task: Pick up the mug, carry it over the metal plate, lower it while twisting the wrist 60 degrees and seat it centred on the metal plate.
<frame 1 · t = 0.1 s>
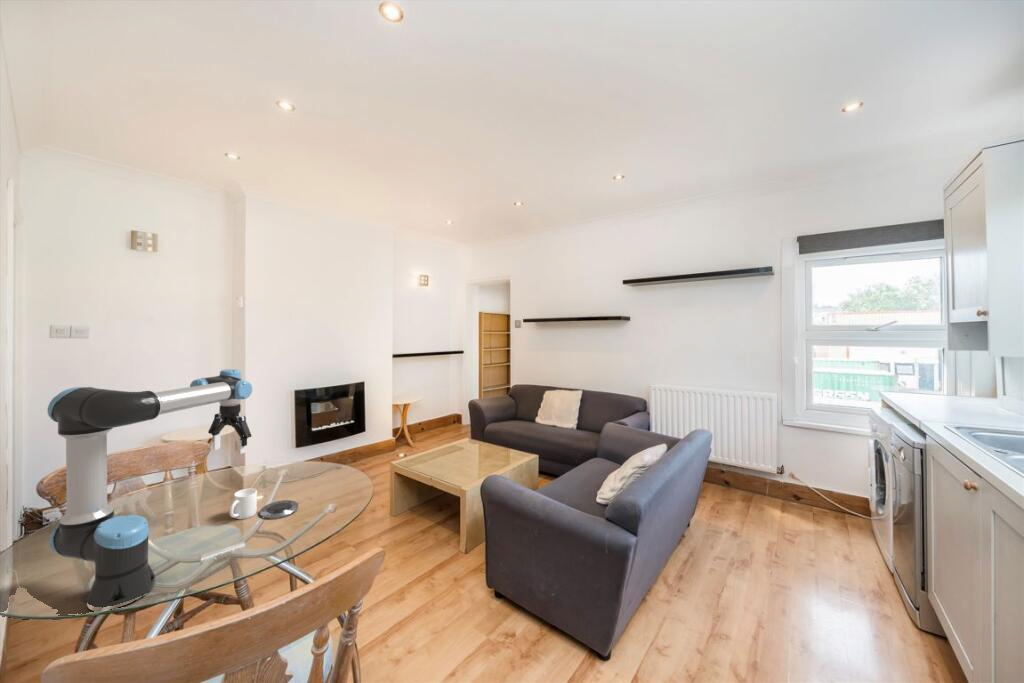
hand: (229, 451, 168), 28 cm above the table, fingers open, 13 cm apart
mug: (241, 517, 166), on the table
metal plate: (279, 510, 173), on the table
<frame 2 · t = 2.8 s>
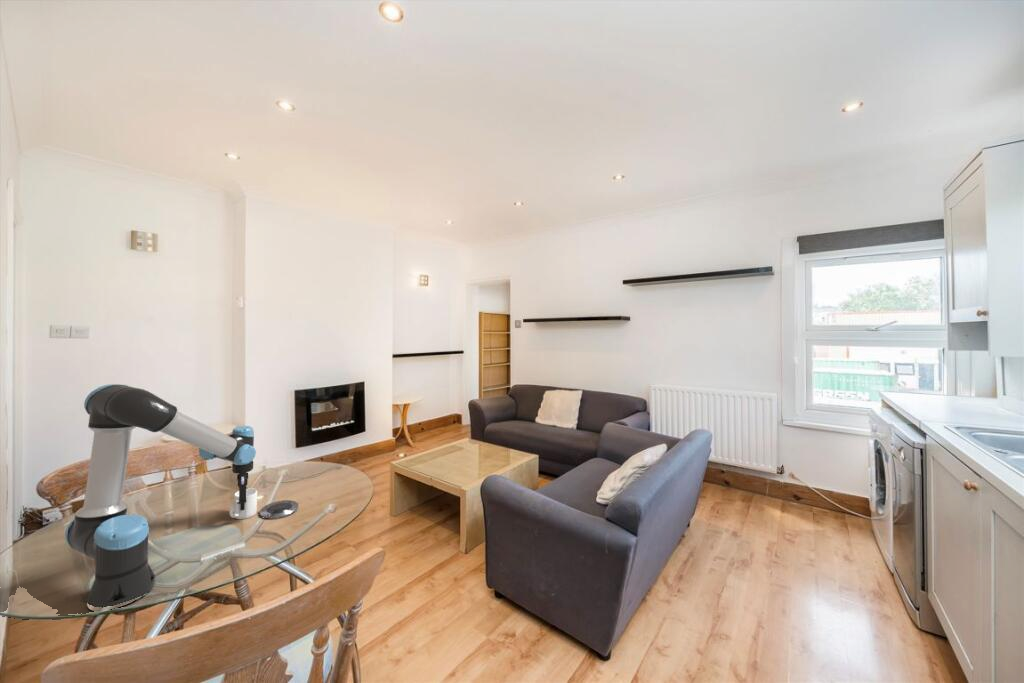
hand: (242, 510, 167), 2 cm above the table, fingers open, 9 cm apart
mug: (241, 517, 166), on the table, touching gripper
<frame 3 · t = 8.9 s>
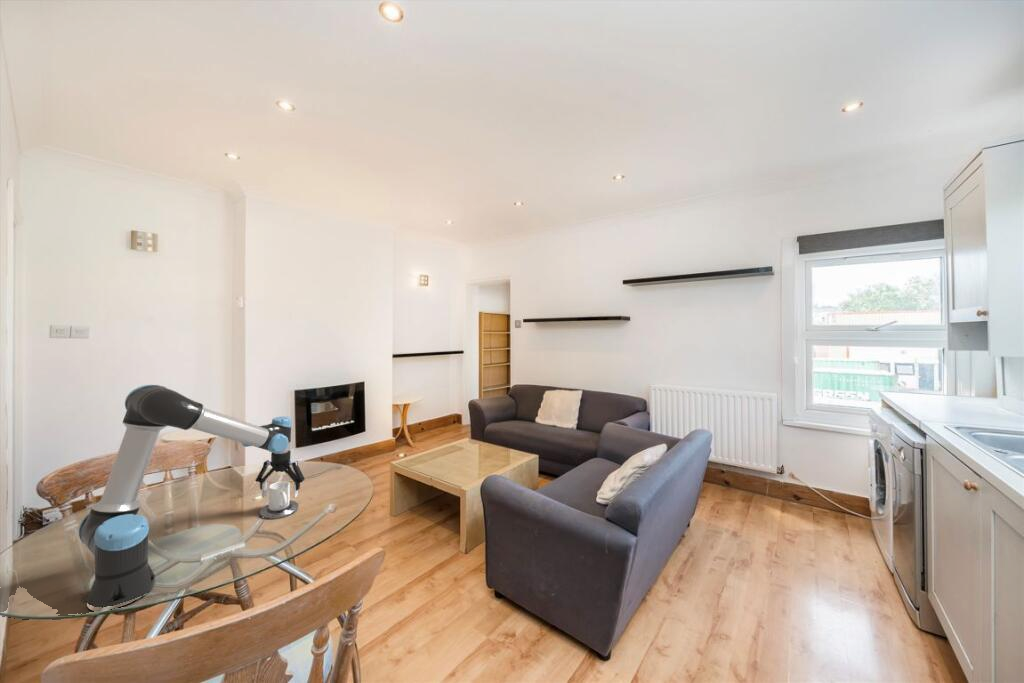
hand: (279, 496, 173), 7 cm above the table, fingers open, 13 cm apart
mug: (280, 508, 173), point 1 cm above the table, touching metal plate
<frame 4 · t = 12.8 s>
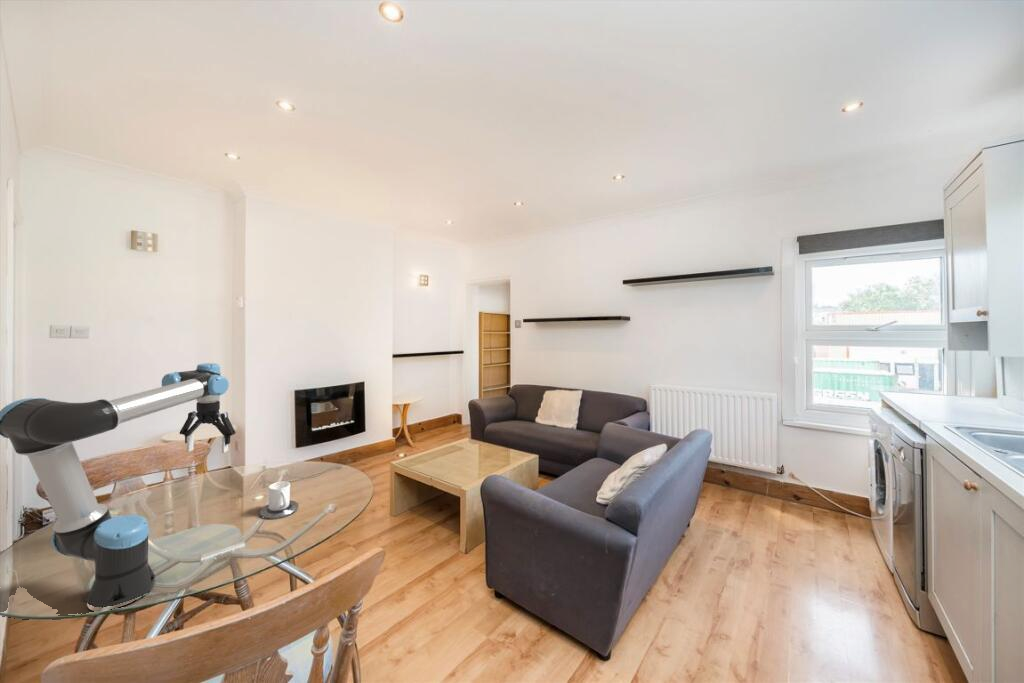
hand: (207, 451, 157), 32 cm above the table, fingers open, 13 cm apart
nothing on the table moved.
at the end: mug 0.6 cm from the metal plate (horizontally); mug tilted 0°; the gripper is holding nothing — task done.
